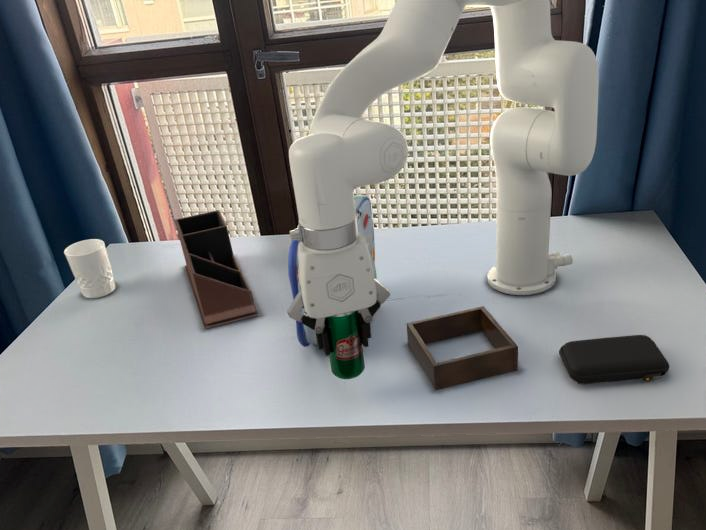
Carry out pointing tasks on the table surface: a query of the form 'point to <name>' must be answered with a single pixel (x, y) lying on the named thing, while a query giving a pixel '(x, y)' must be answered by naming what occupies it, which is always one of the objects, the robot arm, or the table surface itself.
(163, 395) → the table surface
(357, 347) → the soda can
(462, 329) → the crate
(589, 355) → the carrying case
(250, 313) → the desk organizer
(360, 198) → the lunch box
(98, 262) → the white cup
